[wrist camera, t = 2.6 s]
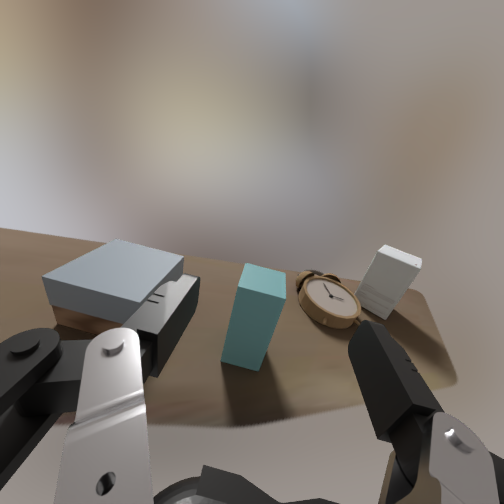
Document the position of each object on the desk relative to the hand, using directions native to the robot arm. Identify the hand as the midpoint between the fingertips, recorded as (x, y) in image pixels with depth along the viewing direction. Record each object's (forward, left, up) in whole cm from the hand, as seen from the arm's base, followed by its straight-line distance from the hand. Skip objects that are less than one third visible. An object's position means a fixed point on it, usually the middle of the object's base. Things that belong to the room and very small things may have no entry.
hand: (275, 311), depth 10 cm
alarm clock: (+14, +27, -18) cm, 36 cm away
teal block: (0, +11, -18) cm, 21 cm away
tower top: (-18, +13, -14) cm, 26 cm away
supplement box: (+26, +31, -18) cm, 44 cm away
